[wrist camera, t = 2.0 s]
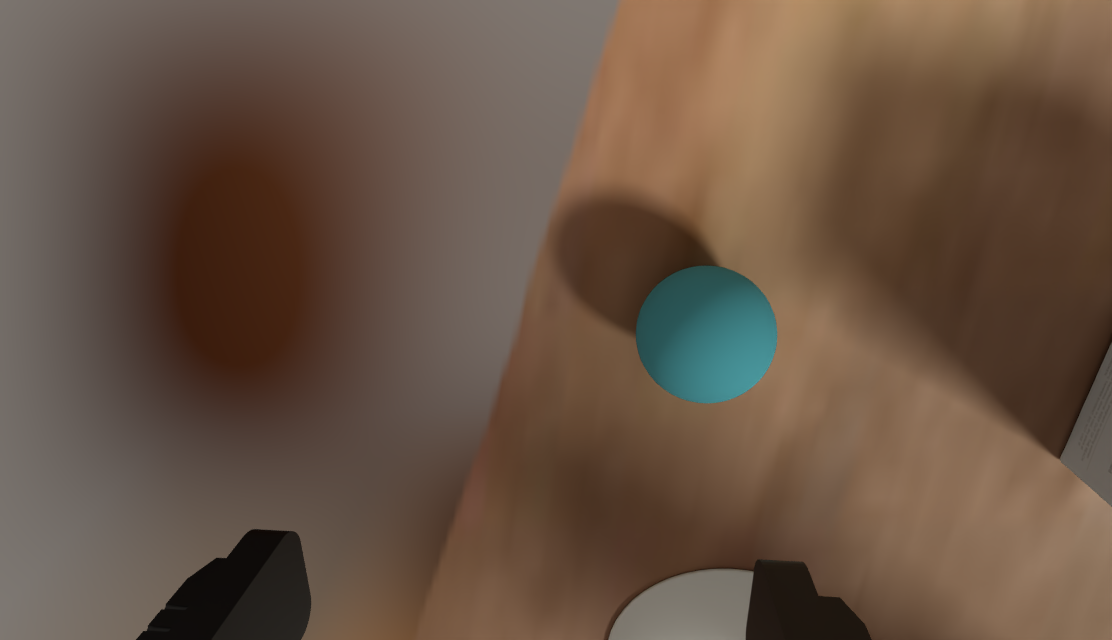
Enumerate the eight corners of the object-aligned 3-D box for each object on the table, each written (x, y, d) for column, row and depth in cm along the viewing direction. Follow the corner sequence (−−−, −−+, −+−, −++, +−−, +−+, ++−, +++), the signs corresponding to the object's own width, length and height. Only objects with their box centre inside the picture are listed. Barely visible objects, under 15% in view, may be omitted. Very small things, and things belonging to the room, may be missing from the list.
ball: (759, 243, 28) (791, 282, 22) (763, 361, 29) (793, 423, 24) (628, 257, 28) (629, 299, 23) (641, 372, 30) (644, 434, 25)
